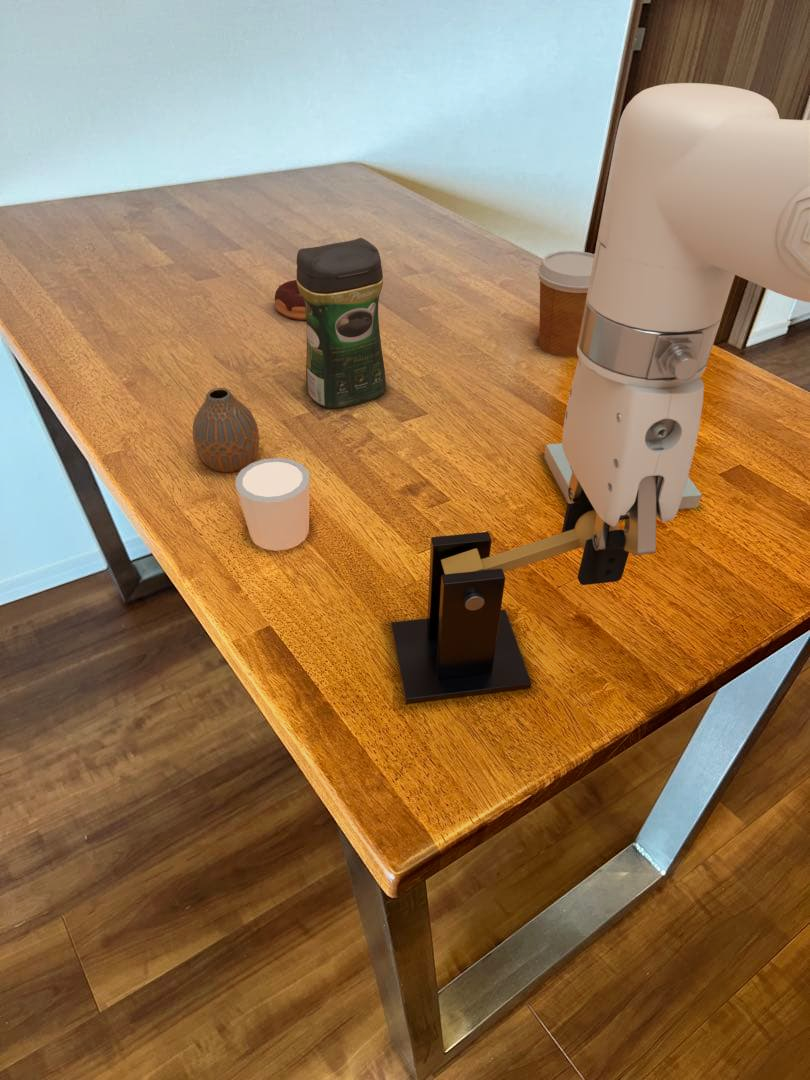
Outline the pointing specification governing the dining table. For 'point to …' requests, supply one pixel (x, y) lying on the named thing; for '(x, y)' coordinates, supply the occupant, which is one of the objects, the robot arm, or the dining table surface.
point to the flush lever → (526, 550)
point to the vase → (225, 432)
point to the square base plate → (564, 472)
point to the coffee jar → (342, 322)
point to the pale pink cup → (275, 502)
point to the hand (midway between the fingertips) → (589, 560)
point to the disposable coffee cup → (563, 300)
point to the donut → (290, 301)
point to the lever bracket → (459, 632)
